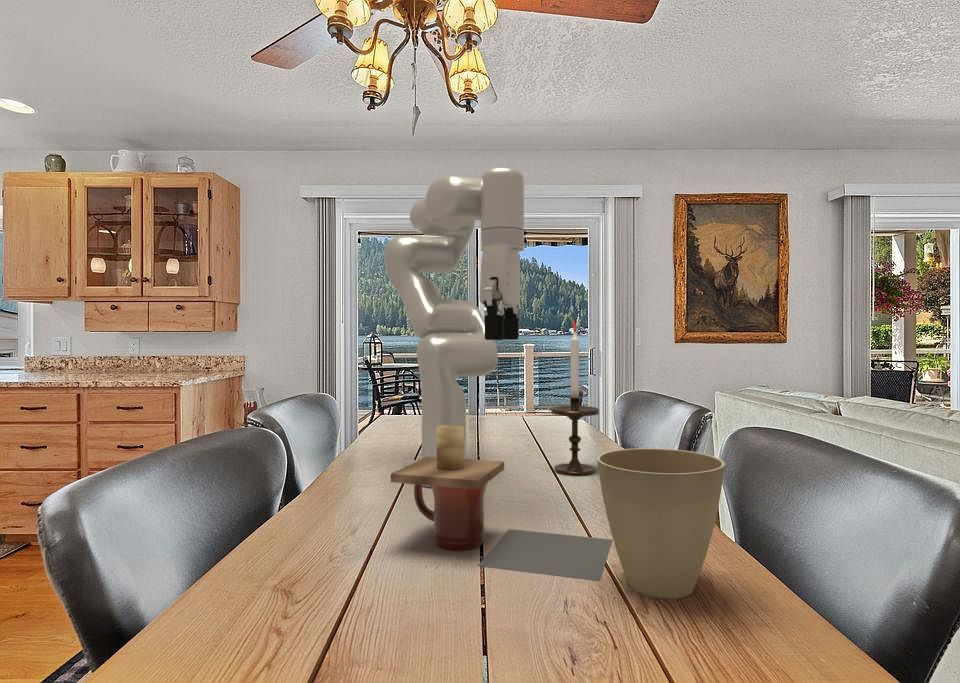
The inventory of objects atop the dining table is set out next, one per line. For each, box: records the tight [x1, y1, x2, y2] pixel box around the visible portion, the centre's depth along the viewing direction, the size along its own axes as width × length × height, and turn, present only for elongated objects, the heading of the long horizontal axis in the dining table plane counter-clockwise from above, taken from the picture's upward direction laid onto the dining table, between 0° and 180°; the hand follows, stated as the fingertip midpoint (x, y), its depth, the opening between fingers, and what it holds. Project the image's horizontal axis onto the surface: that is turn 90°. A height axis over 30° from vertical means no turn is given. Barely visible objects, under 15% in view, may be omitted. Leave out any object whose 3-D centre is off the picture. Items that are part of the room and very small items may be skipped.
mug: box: [413, 481, 489, 552], centre depth 90 cm, size 12×9×10 cm
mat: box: [477, 528, 614, 582], centre depth 85 cm, size 16×16×1 cm
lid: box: [390, 425, 505, 489], centre depth 89 cm, size 13×13×7 cm
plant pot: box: [596, 447, 726, 600], centre depth 74 cm, size 15×15×16 cm
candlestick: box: [550, 318, 600, 477], centre depth 138 cm, size 11×11×35 cm
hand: (502, 339), depth 106 cm, fingers open, 9 cm apart
